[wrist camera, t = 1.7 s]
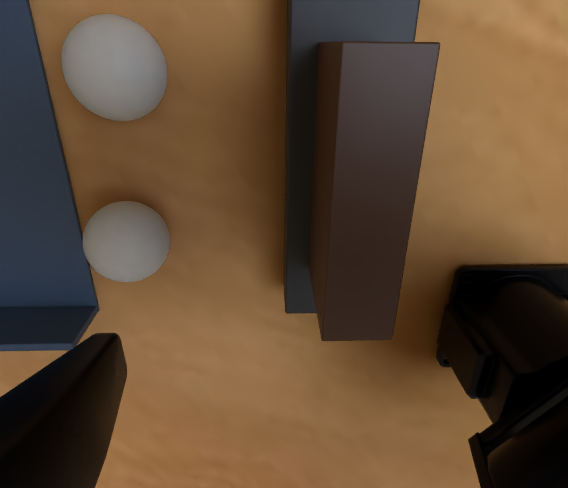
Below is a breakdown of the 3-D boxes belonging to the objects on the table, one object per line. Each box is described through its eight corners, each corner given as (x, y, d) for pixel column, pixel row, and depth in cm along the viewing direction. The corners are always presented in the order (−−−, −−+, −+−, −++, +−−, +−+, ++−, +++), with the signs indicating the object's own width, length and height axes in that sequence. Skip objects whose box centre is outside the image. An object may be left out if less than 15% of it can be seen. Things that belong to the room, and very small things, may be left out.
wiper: (403, -30, 15) (509, -88, 9) (366, 285, 22) (410, 394, 15) (287, -33, 15) (303, -94, 8) (283, 285, 21) (290, 396, 15)
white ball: (171, 17, 16) (146, 10, 13) (180, 113, 17) (160, 129, 14) (77, 16, 16) (27, 8, 12) (95, 113, 17) (55, 129, 14)
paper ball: (173, 189, 19) (153, 219, 16) (180, 258, 20) (164, 297, 17) (94, 189, 19) (58, 220, 15) (108, 258, 20) (78, 298, 17)
